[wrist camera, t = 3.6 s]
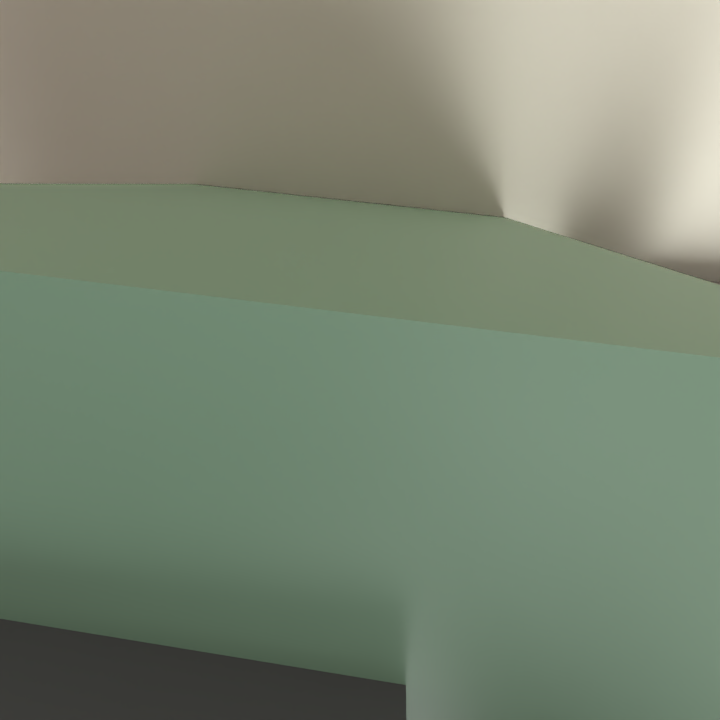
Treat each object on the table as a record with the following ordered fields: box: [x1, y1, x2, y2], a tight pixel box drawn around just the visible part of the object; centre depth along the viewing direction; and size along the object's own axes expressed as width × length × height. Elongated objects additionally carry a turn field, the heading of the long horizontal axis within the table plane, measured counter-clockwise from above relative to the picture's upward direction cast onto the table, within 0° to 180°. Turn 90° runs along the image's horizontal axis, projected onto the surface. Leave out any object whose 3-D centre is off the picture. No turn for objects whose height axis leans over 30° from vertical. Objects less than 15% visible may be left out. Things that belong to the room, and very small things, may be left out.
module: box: [0, 184, 720, 720], centre depth 9 cm, size 9×15×11 cm, turn 175°
